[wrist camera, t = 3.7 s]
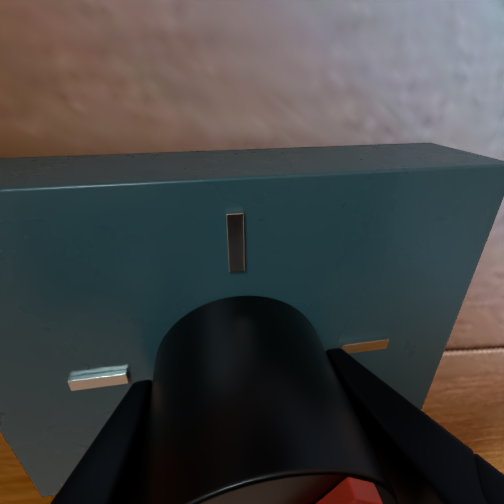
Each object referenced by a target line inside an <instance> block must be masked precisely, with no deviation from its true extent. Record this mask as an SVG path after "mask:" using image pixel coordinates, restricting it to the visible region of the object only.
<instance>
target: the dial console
mask: <svg viewBox="0 0 504 504" xmlns="http://www.w3.org/2000/svg"><path fill="white" fill-rule="evenodd" d="M503 197H504V161H502V160H498V159H494V158H490V157H486V156H482V155H478V154H474V153H470V152H466V151H461V150H457V149H453V148H449V147H445V146H441V145H437V144H433V143H412V144H384V145H357V146H329V147H301V148H274V149H246V150H219V151H191V152H163V153H136V154H108V155H81V156H53V157H26V158H0V431H1V433H2V434H3V436H4V438H5V439H6V441H7V442H8V444H9V445H10V447H11V449H12V450H13V452H14V453H15V455H16V457H17V458H18V460H19V461H20V463H21V464H22V466H23V468H24V469H25V471H26V472H27V474H28V476H29V477H30V479H31V480H32V482H33V484H34V485H35V487H36V488H37V490H38V491H39V493H40V495H41V496H42V497H46V496H51V495H57V493H58V492H59V490H60V489H61V488H62V486H63V485H64V483H65V482H66V480H67V479H68V477H69V476H70V474H71V473H72V472H73V470H74V469H75V467H76V466H77V464H78V463H79V461H80V460H81V458H82V457H83V455H84V454H85V453H86V451H87V450H88V448H89V447H90V445H91V444H92V442H93V441H94V439H95V438H96V436H97V435H98V434H99V432H100V431H101V429H102V428H103V426H104V425H105V423H106V422H107V420H108V419H109V418H110V416H111V415H112V413H113V412H114V410H115V409H116V407H117V406H118V404H119V403H120V401H121V400H122V399H123V397H124V396H125V394H126V393H127V391H128V390H129V388H130V387H131V385H132V384H133V383H134V382H137V381H143V380H151V381H152V380H153V373H154V365H155V359H156V354H157V350H158V348H159V345H160V343H161V341H162V340H163V338H164V336H165V335H166V334H167V332H168V331H169V330H170V329H171V327H172V326H173V325H174V324H175V323H176V322H178V321H179V320H180V319H181V318H182V317H184V316H185V315H186V314H188V313H189V312H191V311H193V310H194V309H196V308H198V307H200V306H202V305H205V304H207V303H209V302H212V301H216V300H219V299H223V298H228V297H233V296H244V295H249V296H263V297H269V298H273V299H276V300H280V301H282V302H284V303H287V304H289V305H291V306H292V307H294V308H296V309H297V310H299V311H300V312H301V313H302V314H303V315H304V316H305V317H306V318H307V319H308V320H309V321H310V323H311V324H312V326H313V328H314V329H315V331H316V333H317V335H318V338H319V340H320V342H321V344H322V346H323V348H324V350H325V351H326V350H328V349H334V348H341V349H343V350H344V351H345V352H347V353H348V354H349V355H351V356H352V357H353V358H354V359H356V360H357V361H358V362H360V363H361V364H362V365H363V366H365V367H366V368H367V369H369V370H370V371H371V372H372V373H374V374H375V375H376V376H378V377H379V378H380V379H381V380H383V381H384V382H385V383H387V384H388V385H389V386H390V387H392V388H393V389H394V390H396V391H397V392H398V393H399V394H401V395H402V396H403V397H404V398H406V399H407V400H408V401H410V402H411V403H412V404H413V405H415V406H416V407H417V408H419V409H420V410H421V409H422V406H423V404H424V401H425V399H426V396H427V393H428V391H429V388H430V386H431V383H432V380H433V378H434V375H435V373H436V370H437V368H438V365H439V362H440V360H441V357H442V355H443V352H444V349H445V347H446V344H447V342H448V339H449V337H450V334H451V331H452V329H453V326H454V324H455V321H456V318H457V316H458V313H459V311H460V308H461V306H462V303H463V300H464V298H465V295H466V293H467V290H468V287H469V285H470V282H471V280H472V277H473V275H474V272H475V269H476V267H477V264H478V262H479V259H480V256H481V254H482V251H483V249H484V246H485V244H486V241H487V238H488V236H489V233H490V231H491V228H492V225H493V223H494V220H495V218H496V215H497V213H498V210H499V207H500V205H501V202H502V200H503Z"/></svg>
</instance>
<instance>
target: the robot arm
mask: <svg viewBox="0 0 504 504" xmlns="http://www.w3.org/2000/svg"><path fill="white" fill-rule="evenodd" d="M325 352H326V354H327V356H328V358H329V360H330V362H331V364H332V366H333V368H334V370H335V372H336V374H337V376H338V378H339V380H340V382H341V384H342V386H343V388H344V390H345V392H346V394H347V396H348V398H349V400H350V402H351V404H352V406H353V408H354V410H355V413H356V415H357V417H358V419H359V421H360V423H361V425H362V427H363V429H364V431H365V433H366V435H367V437H368V439H369V441H370V443H371V445H372V447H373V449H374V451H375V453H376V455H377V457H378V459H379V461H380V463H381V465H382V467H383V469H384V471H385V473H386V475H387V477H388V479H389V481H390V483H391V485H392V488H393V490H394V492H395V494H396V497H397V500H398V504H504V474H502V473H501V472H500V471H498V470H497V469H496V468H495V467H493V466H492V465H491V464H489V463H488V462H487V461H486V460H484V459H483V458H482V457H480V456H479V455H478V454H474V452H473V451H472V450H471V449H470V448H469V447H467V446H466V445H465V444H464V443H462V442H461V441H460V440H458V439H457V438H456V437H455V436H453V435H452V434H451V433H449V432H448V431H447V430H446V429H444V428H443V427H442V426H440V425H439V424H438V423H437V422H435V421H434V420H433V419H431V418H430V417H429V416H428V415H426V414H425V413H424V412H422V411H421V410H420V409H419V408H417V407H416V406H415V405H413V404H412V403H411V402H410V401H408V400H407V399H406V398H404V397H403V396H402V395H401V394H399V393H398V392H397V391H396V390H394V389H393V388H392V387H390V386H389V385H388V384H387V383H385V382H384V381H383V380H381V379H380V378H379V377H378V376H376V375H375V374H374V373H372V372H371V371H370V370H369V369H367V368H366V367H365V366H363V365H362V364H361V363H360V362H358V361H357V360H356V359H354V358H353V357H352V356H351V355H349V354H348V353H347V352H345V351H344V350H343V349H341V348H334V349H328V350H326V351H325ZM151 387H152V381H151V380H143V381H137V382H134V383H133V384H132V385H131V387H130V388H129V390H128V391H127V393H126V394H125V396H124V397H123V399H122V400H121V401H120V403H119V404H118V406H117V407H116V409H115V410H114V412H113V413H112V415H111V416H110V418H109V419H108V420H107V422H106V423H105V425H104V426H103V428H102V429H101V431H100V432H99V434H98V435H97V436H96V438H95V439H94V441H93V442H92V444H91V445H90V447H89V448H88V450H87V451H86V453H85V454H84V455H83V457H82V458H81V460H80V461H79V463H78V464H77V466H76V467H75V469H74V470H73V472H72V473H71V474H70V476H69V477H68V479H67V480H66V482H65V483H64V485H63V486H62V488H61V489H60V490H59V492H58V493H57V495H56V496H55V498H54V499H53V501H52V502H51V504H135V502H136V495H137V488H138V481H139V473H140V466H141V459H142V452H143V445H144V437H145V430H146V423H147V416H148V409H149V401H150V394H151Z"/></svg>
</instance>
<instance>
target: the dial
mask: <svg viewBox="0 0 504 504" xmlns="http://www.w3.org/2000/svg"><path fill="white" fill-rule="evenodd" d="M135 504H398V500H397V497H396V494H395V492H394V490H393V488H392V485H391V483H390V481H389V479H388V477H387V475H386V473H385V471H384V469H383V467H382V465H381V463H380V461H379V459H378V457H377V455H376V453H375V451H374V449H373V447H372V445H371V443H370V441H369V439H368V437H367V435H366V433H365V431H364V429H363V427H362V425H361V423H360V421H359V419H358V417H357V415H356V413H355V410H354V408H353V406H352V404H351V402H350V400H349V398H348V396H347V394H346V392H345V390H344V388H343V386H342V384H341V382H340V380H339V378H338V376H337V374H336V372H335V370H334V368H333V366H332V364H331V362H330V360H329V358H328V356H327V354H326V352H325V350H324V348H323V346H322V344H321V342H320V340H319V338H318V335H317V333H316V331H315V329H314V328H313V326H312V324H311V323H310V321H309V320H308V319H307V318H306V317H305V316H304V315H303V314H302V313H301V312H300V311H299V310H297V309H296V308H294V307H292V306H291V305H289V304H287V303H284V302H282V301H280V300H276V299H273V298H269V297H263V296H249V295H244V296H233V297H228V298H223V299H219V300H216V301H212V302H209V303H207V304H205V305H202V306H200V307H198V308H196V309H194V310H193V311H191V312H189V313H188V314H186V315H185V316H184V317H182V318H181V319H180V320H179V321H178V322H176V323H175V324H174V325H173V326H172V327H171V329H170V330H169V331H168V332H167V334H166V335H165V336H164V338H163V340H162V341H161V343H160V345H159V348H158V350H157V354H156V359H155V365H154V373H153V380H152V387H151V394H150V401H149V409H148V416H147V423H146V430H145V437H144V445H143V452H142V459H141V466H140V473H139V481H138V488H137V495H136V502H135Z"/></svg>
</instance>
